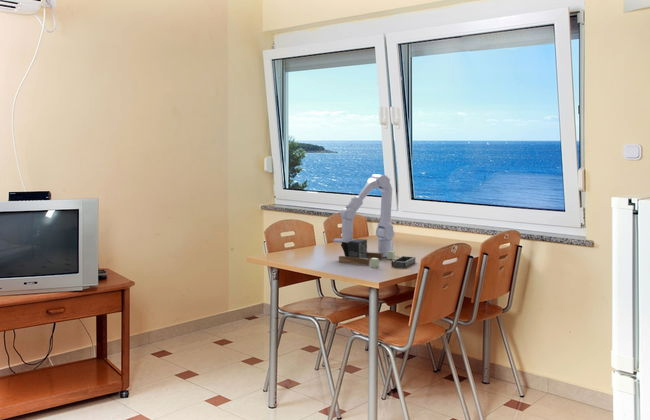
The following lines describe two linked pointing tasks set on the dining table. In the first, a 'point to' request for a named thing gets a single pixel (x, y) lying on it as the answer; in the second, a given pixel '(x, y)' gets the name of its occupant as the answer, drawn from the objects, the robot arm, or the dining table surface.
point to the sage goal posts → (376, 260)
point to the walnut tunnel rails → (360, 260)
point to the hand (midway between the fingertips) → (347, 257)
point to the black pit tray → (403, 262)
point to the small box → (357, 248)
